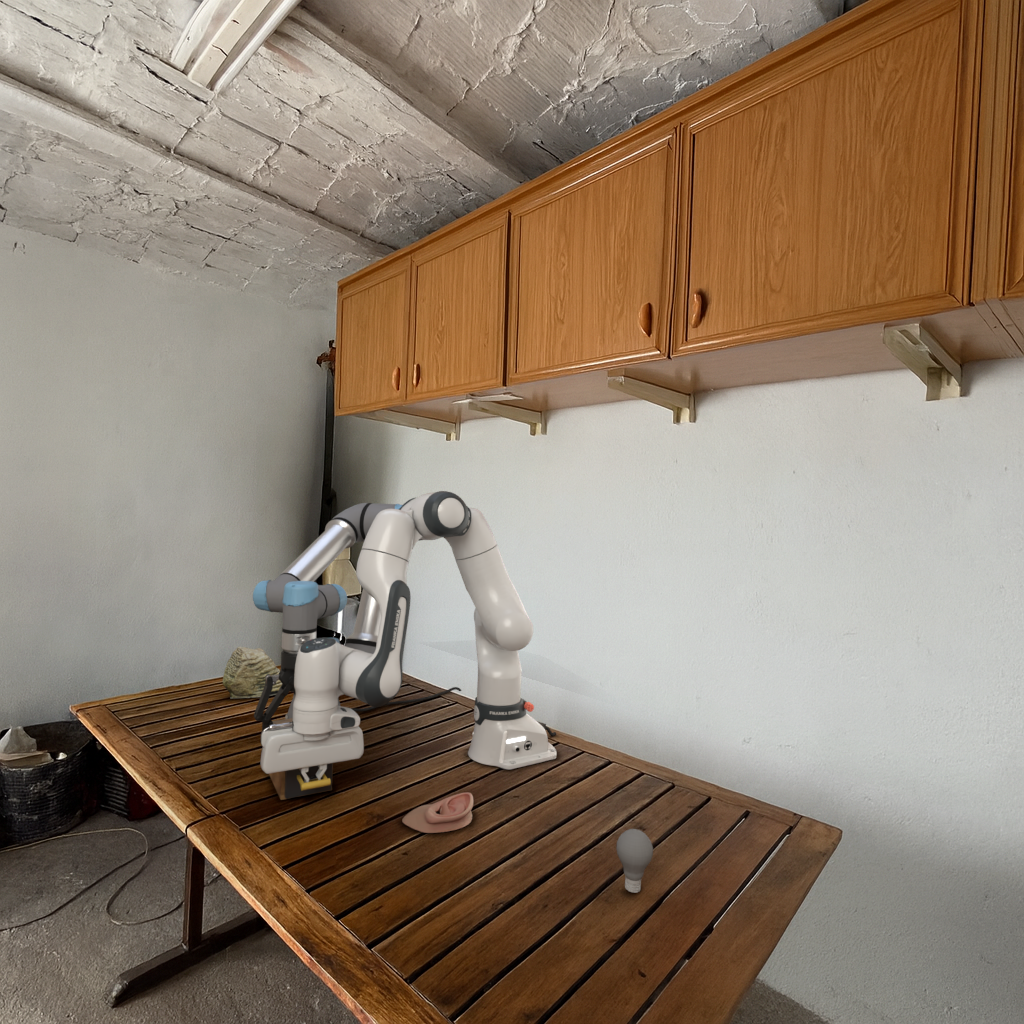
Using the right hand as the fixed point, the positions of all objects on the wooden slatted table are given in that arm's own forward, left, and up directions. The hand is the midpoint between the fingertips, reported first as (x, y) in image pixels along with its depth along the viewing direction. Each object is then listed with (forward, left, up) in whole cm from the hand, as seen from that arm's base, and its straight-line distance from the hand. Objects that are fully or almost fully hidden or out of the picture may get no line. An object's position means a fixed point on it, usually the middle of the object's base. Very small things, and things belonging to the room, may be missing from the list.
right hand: (312, 785), depth 130 cm
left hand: (+2, -17, +2) cm, 17 cm away
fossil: (+10, -78, -4) cm, 79 cm away
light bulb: (-47, +46, -4) cm, 66 cm away
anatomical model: (-23, +14, -4) cm, 27 cm away
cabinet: (+2, -13, -4) cm, 14 cm away
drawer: (+1, -8, -3) cm, 8 cm away
